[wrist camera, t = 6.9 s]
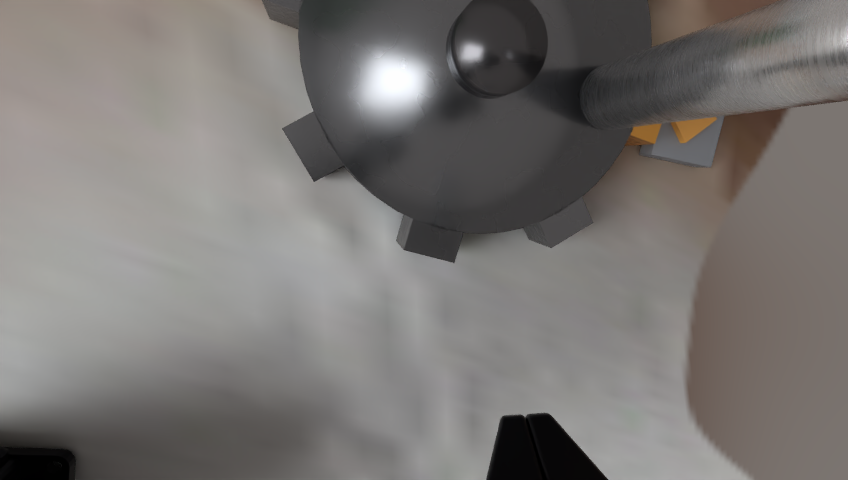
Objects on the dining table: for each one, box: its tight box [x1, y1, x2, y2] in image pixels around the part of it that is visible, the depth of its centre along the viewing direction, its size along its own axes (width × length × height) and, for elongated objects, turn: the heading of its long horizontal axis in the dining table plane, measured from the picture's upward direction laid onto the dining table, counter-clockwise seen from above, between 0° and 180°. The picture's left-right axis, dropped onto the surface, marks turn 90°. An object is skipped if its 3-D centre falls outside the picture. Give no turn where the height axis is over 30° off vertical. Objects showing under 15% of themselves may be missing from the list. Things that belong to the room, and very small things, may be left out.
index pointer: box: [639, 116, 724, 167], centre depth 19 cm, size 4×3×1 cm
